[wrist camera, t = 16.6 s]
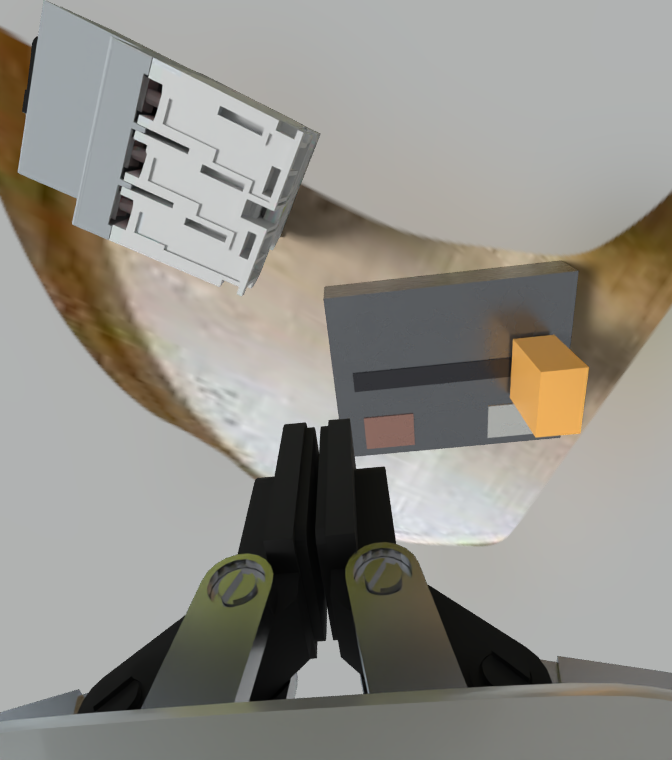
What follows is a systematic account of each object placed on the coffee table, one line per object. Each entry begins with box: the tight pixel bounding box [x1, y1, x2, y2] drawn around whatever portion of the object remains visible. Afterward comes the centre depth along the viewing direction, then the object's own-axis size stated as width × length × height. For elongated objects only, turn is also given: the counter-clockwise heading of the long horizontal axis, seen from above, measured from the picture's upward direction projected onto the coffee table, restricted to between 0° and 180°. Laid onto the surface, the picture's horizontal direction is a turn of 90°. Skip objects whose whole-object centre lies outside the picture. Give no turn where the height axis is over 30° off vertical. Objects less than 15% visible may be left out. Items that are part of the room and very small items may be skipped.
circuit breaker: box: [18, 0, 320, 296], centre depth 27 cm, size 8×14×15 cm, turn 66°
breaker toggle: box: [510, 335, 589, 437], centre depth 35 cm, size 3×5×6 cm, turn 7°
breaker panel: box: [324, 261, 579, 456], centre depth 39 cm, size 18×14×3 cm
